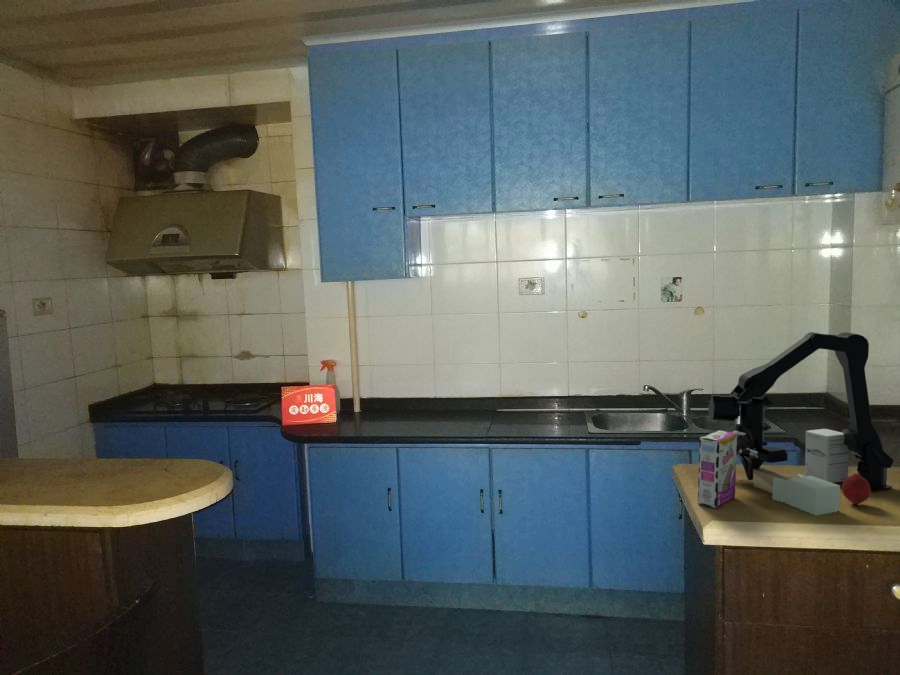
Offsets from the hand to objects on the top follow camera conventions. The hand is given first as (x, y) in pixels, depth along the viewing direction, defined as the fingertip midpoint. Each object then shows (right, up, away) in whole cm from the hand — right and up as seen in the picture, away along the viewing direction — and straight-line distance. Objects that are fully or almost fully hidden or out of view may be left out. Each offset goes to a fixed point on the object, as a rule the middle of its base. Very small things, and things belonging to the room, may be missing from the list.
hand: (750, 479), depth 169 cm
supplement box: (+21, -1, +3) cm, 22 cm away
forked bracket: (+6, -2, -17) cm, 18 cm away
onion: (+17, -2, -17) cm, 24 cm away
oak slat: (+3, -2, -7) cm, 8 cm away
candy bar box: (-14, -3, -13) cm, 19 cm away
